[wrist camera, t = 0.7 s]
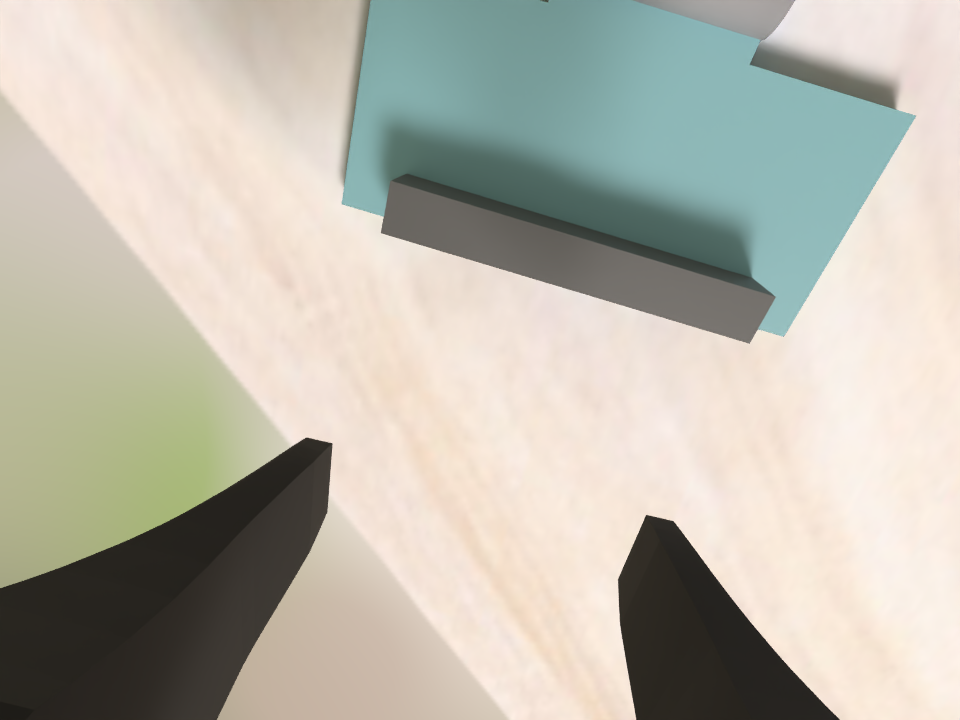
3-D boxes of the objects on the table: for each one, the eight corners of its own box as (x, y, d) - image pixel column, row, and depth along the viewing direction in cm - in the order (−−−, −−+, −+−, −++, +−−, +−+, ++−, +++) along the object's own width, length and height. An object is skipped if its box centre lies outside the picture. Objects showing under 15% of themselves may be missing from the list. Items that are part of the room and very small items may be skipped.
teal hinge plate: (961, 0, 14) (1059, -27, 12) (772, 326, 19) (810, 361, 16) (407, -174, 14) (374, -241, 11) (351, 199, 19) (318, 214, 16)
